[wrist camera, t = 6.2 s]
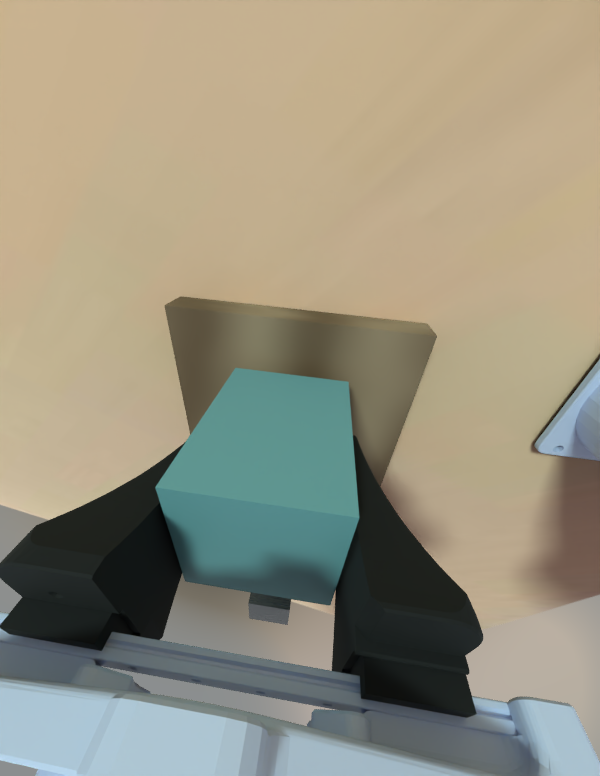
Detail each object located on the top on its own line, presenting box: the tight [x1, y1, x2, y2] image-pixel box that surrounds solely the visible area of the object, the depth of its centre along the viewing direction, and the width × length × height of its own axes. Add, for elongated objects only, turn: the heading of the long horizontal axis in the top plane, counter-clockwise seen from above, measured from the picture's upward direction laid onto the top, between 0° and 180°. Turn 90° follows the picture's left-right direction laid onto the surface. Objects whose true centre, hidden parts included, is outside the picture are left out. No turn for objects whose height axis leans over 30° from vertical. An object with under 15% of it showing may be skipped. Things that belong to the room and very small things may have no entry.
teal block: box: [155, 368, 359, 605], centre depth 11 cm, size 5×5×7 cm
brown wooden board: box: [165, 297, 437, 486], centre depth 19 cm, size 12×23×2 cm, turn 175°
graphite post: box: [249, 592, 291, 625], centre depth 20 cm, size 3×3×5 cm
